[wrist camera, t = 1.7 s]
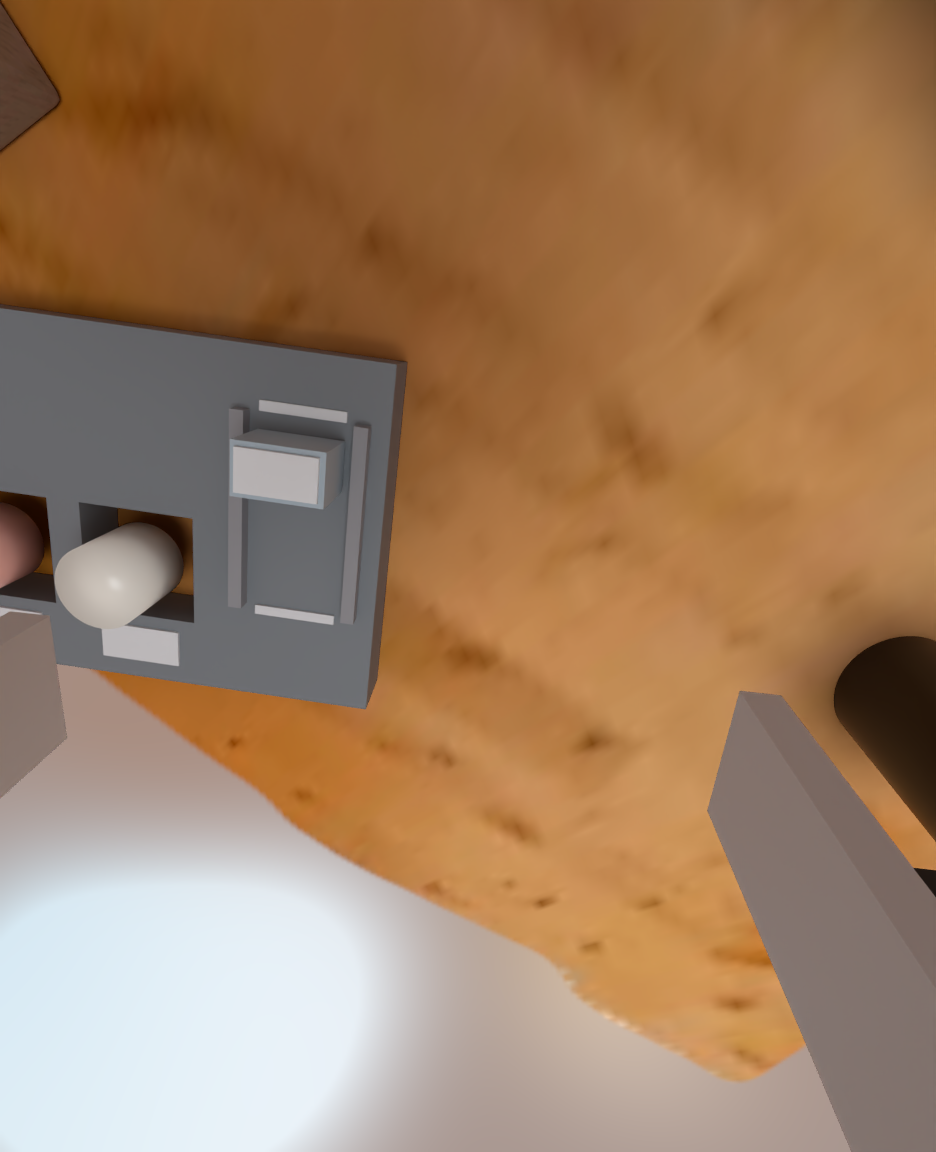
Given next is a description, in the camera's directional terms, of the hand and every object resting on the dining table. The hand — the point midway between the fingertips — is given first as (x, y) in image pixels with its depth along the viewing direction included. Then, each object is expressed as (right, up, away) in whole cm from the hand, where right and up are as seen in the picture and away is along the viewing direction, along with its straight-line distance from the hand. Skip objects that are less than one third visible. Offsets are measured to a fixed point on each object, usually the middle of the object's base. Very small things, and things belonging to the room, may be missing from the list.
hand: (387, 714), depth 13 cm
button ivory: (-19, +4, +29) cm, 35 cm away
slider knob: (-8, +9, +25) cm, 28 cm away
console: (-17, +7, +31) cm, 36 cm away
